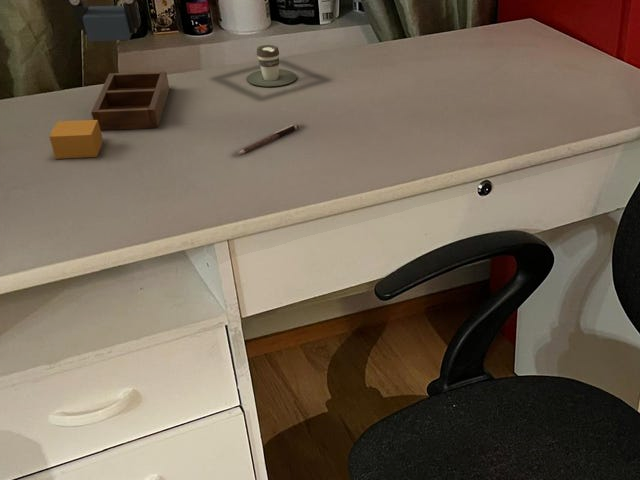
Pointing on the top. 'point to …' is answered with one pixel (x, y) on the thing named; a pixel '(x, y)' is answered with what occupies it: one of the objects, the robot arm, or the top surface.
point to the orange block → (76, 139)
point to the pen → (270, 138)
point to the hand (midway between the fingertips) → (111, 31)
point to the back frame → (131, 100)
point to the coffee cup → (270, 69)
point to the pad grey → (106, 23)
